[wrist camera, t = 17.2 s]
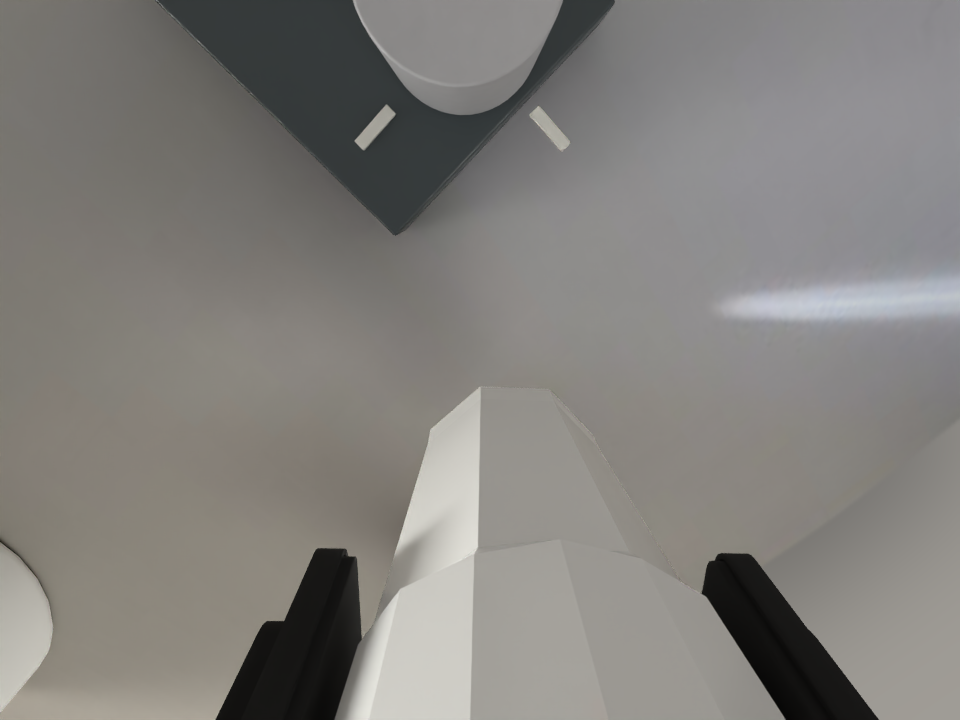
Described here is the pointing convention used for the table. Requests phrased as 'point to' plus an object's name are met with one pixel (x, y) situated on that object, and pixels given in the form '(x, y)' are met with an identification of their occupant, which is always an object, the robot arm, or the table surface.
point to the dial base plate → (364, 94)
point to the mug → (20, 624)
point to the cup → (538, 589)
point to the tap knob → (460, 47)
